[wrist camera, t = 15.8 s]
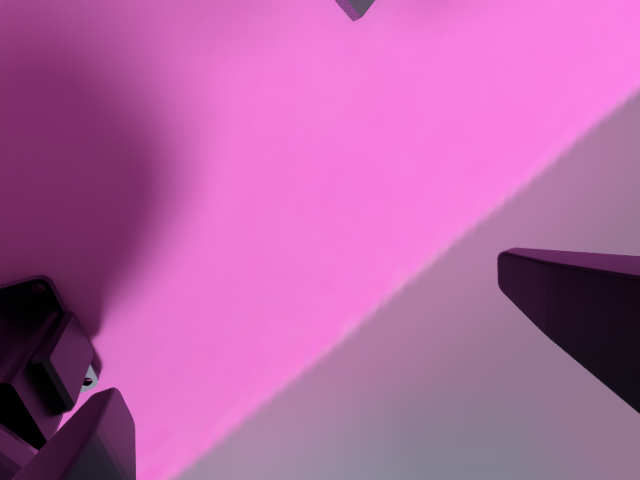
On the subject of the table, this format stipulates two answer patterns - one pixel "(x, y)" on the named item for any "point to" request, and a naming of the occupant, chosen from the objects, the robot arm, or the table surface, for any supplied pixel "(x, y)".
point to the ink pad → (355, 7)
